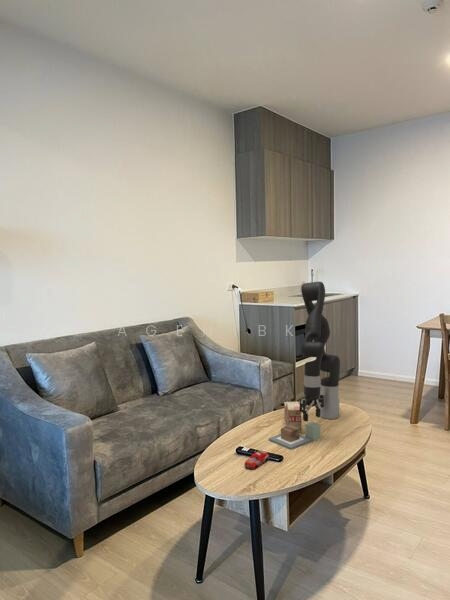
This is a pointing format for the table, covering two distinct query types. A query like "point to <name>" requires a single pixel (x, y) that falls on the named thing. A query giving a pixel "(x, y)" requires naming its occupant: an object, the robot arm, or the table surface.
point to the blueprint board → (273, 439)
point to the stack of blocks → (292, 414)
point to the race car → (257, 460)
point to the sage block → (313, 431)
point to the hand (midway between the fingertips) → (311, 419)
